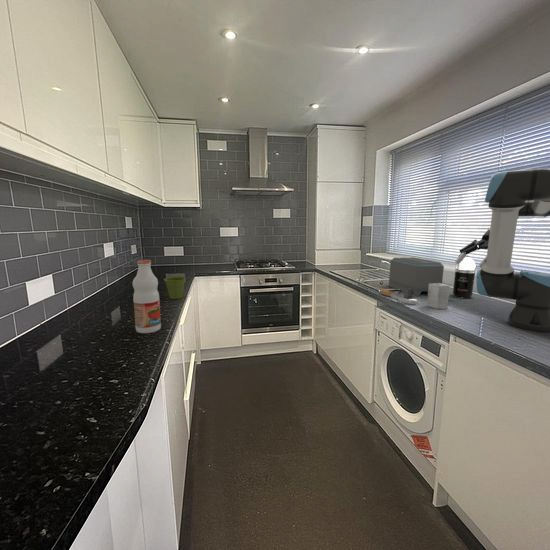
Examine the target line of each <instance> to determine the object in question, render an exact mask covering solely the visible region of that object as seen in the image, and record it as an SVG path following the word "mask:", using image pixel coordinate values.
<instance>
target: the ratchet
mask: <svg viewBox="0 0 550 550" xmlns="http://www.w3.org/2000/svg"><path fill="white" fill-rule="evenodd" d="M381 293H383V294H385V295H387V296H386V297H388V296H391V297H394V298H396V299H395V300H397V299H398V300H397V302H398V301H399V302H401V303H404V304H403V305H405V304H409V305H408V306H417V305H418V304H419V298H417V297H416V296H413V290H412V289H404V292H403V295H400V294H398V293H395V291H392V290H389V289H380V294H381ZM385 295H384V296H385ZM391 297H390V298H391ZM394 298H393V299H394ZM399 302H398V303H399ZM401 303H400V304H401ZM416 304H417V305H416Z"/></svg>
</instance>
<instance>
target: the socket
mask: <svg viewBox="0 0 550 550" xmlns="http://www.w3.org/2000/svg"><path fill="white" fill-rule="evenodd" d="M450 288H451V285H449V284H445V283H442V284H441V283H431V284H429V287H428V292H427V298H426V299H427V300H426V306H427V307H430V308H431V309H435V310H440V309H441V310H442V309H448V307H449V298H450Z"/></svg>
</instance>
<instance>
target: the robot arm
mask: <svg viewBox="0 0 550 550" xmlns="http://www.w3.org/2000/svg"><path fill="white" fill-rule="evenodd" d="M487 186H488V187H487V190H486V194H485V199H484V202H485V203H487V204H488V205H487V206H488V208H489V209H490V210H491V220H490V226H489V228H488V229H487V230H486V231H485V233H484V234H483V235H482V237H481V239H480V240H477V239H474V240H473V241H472V242H471V243H468V244H467V245H465V246H464V247H462V248H461V249H459V250H458V251H459V253H460V254H459V255H458V257H457V258H456V259H455V264H456V263H457V265H459V264H460V263H461V261H462V260H463V259H464V258H465V257H466V255H469V254H471V253H473V252H475V251H477V250H478V251H479V250H487V251H486V256H484V258H483V259H482V260H481V262H480V263H479V264H478V266H479V268H480V269H478V270H477V271H476V278H475V280H476V281H475V282H476V283H475V284H476V291H477V293H478V295H480V296H485V297H488V298H498V299H505V300H506V299H507V300H512V301H513V300H514V301H515V305H514V307H513V309H512V310H511V312H510V314H509V315H508V318H507V323H508V324H509V325H511V326H513V327H517V328H520V329H523V330H527V331H528V330H529V331H533V332H534V331H535V332H540V333H541V332H542V333H543V332H544V333H545V332H546V333H548V332H549V333H550V274H548V273H546V272H545V273H544V272H540V271H535V270H534V271H533V270H527V269H522V270H520V271H519V272H515V268H514V267H513V266H512V265H511V263H512V256H513V251H514V250H513V249H514V245H515V238H516V230H517V226H518V225H517V224H518V219H519V218H522V217H523V218H524V217H527V218H529V217H531V218H532V217H535V218H536V217H537V218H540V217H544V218H547V217H550V168H536V169H532V168H531V169H522V170H521V169H519V170H506V171H505V170H504V171H500V172H499V171H498V172H494V173H493V174H492V175H491V177H490V181H489V184H488V185H487Z"/></svg>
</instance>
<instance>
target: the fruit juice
mask: <svg viewBox="0 0 550 550" xmlns="http://www.w3.org/2000/svg"><path fill="white" fill-rule="evenodd" d="M151 264H152V260H151V259H139V260H136V265H137V266H138V267H137V273H136V276H135V277H134V278H133V280H132V288H133V290H134V291H133V299H132V300H133V301H132V302H133V310H134V323H135V324H134V325H135V331H136V333H139V334H151V333H156V332H157V331H158V332H159V330H161V328H162V321H161V305H160V303H161V302H160V301H161V300H160V294H159V293H160V292H159V291H158V285H159V280H158V278H157V277H156V276H155V274H154V273H153V270H152V268H151Z"/></svg>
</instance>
